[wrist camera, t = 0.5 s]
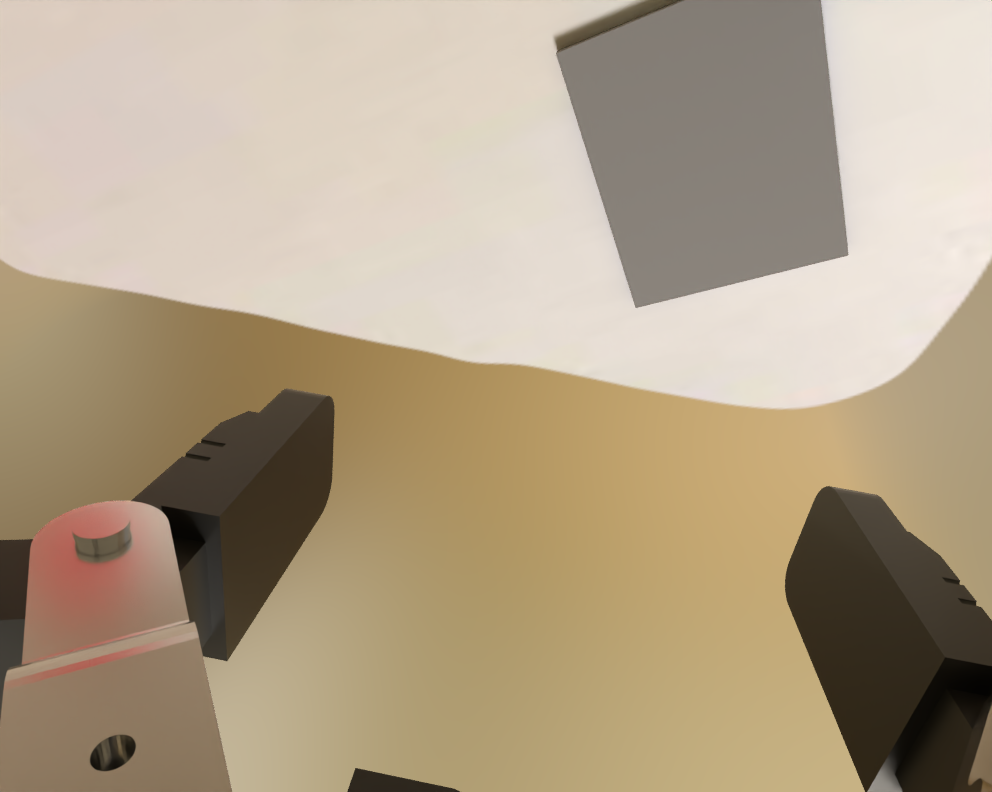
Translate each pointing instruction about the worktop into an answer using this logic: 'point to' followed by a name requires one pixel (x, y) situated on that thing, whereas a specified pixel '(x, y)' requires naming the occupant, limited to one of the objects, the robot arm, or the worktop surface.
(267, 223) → the worktop surface
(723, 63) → the mat
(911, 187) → the worktop surface
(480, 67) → the worktop surface
